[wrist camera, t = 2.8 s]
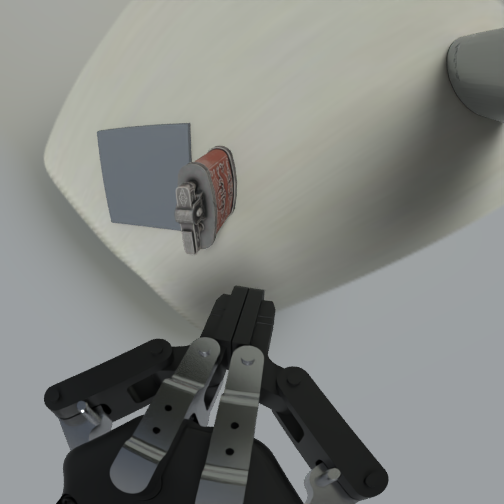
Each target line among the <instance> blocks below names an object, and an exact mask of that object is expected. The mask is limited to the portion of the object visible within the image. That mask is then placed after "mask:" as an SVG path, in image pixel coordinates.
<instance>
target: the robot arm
mask: <svg viewBox="0 0 504 504" xmlns="http://www.w3.org/2000/svg"><path fill="white" fill-rule="evenodd" d="M447 69H448V74H449V78H450V81H451V83H452V86H453V88H454V90H455V92H456V94H457V96H458V97H459V98H460V100H461V101H462V102H463V103H464V104H465V105H466V106H467V107H468V108H469V109H470V110H471V111H473V112H474V113H476V114H478V115H480V116H483V117H487V118H490V119H493V120H497V121H500V122H503V123H504V28H500V29H495V30H490V31H485V32H480V33H476V34H472V35H468V36H464V37H460V38H458V39H457V40H455V41H454V42H453V44H452V45H451V46H450V49H449V51H448V57H447ZM274 316H275V307H274V304H273V302H272V301H265V300H264V290H261V289H254V288H250V289H249V288H247V287H241V286H234V289H233V291H232V294H231V295H228V294H223V295H221V296H220V297H219V298H218V299H217V300H216V302H215V304H214V307H213V309H212V311H211V314H210V316H209V318H208V320H207V323H206V325H205V327H204V330H203V332H202V334H201V336H200V338H198V339H196V340H195V341H193V343H191V345H188V346H181V347H180V346H179V347H171V345H170V343H169V342H167V341H166V340H164V339H153V340H151V341H148V342H146V343H144V344H142V345H140V346H138V347H136V348H134V349H132V350H130V351H128V352H125V353H123V354H121V355H119V356H117V357H115V358H113V359H111V360H108V361H106V362H104V363H102V364H100V365H98V366H95V367H93V368H91V369H89V370H87V371H84V372H82V373H80V374H78V375H76V376H73V377H71V378H69V379H66V380H64V381H62V382H60V383H57V384H55V385H53V386H51V387H49V388H48V389H47V391H46V393H45V395H44V402H45V405H46V406H47V407H48V408H49V409H50V410H51V411H52V412H53V413H54V414H55V415H56V416H57V417H58V418H59V421H60V424H61V426H62V429H63V432H64V435H65V437H66V440H67V442H68V445H69V447H70V450H71V451H70V452H69V453H68V455H67V456H66V458H65V460H64V464H63V473H64V489H63V494H62V496H61V498H60V499H59V501H58V502H57V503H56V504H303V502H302V500H301V499H300V497H299V496H298V494H297V492H296V491H295V489H294V488H293V486H292V485H291V483H290V482H289V480H288V478H287V477H286V475H285V473H284V472H283V470H282V468H281V467H280V465H279V463H278V462H277V460H276V458H275V456H274V455H273V453H272V452H271V451H270V449H269V448H268V447H267V446H265V445H264V444H263V443H262V442H260V441H259V440H257V439H255V438H254V433H255V426H256V419H257V412H258V404H259V403H260V404H263V405H264V406H266V407H268V408H270V409H272V412H273V414H274V415H275V417H276V418H277V420H278V421H279V423H280V424H281V426H282V427H283V429H284V430H285V432H286V434H287V435H288V436H289V438H290V439H291V441H292V442H293V444H294V445H295V447H296V448H297V450H298V451H299V453H300V454H301V455H302V457H303V458H304V460H305V461H306V462H307V464H308V465H309V467H310V468H311V469H312V470H311V471H310V472H309V473H308V474H307V475H306V477H305V480H304V486H305V488H306V490H307V494H308V497H307V501H306V503H305V504H355V503H357V502H358V501H361V500H364V499H368V498H371V497H374V496H377V495H378V494H380V493H382V492H383V491H384V490H385V488H386V486H387V484H388V474H387V472H386V471H385V469H384V468H383V467H382V466H381V464H380V463H379V462H378V461H377V460H376V459H375V457H374V456H373V455H372V454H371V452H370V451H369V450H368V449H367V448H366V446H365V445H364V444H363V443H362V442H361V440H360V439H359V438H358V436H357V435H356V434H355V433H354V432H353V430H352V429H351V428H350V427H349V425H348V424H347V423H346V422H345V420H344V419H343V418H342V417H341V415H340V414H339V413H338V412H337V410H336V409H335V408H334V406H333V405H332V404H331V403H330V401H329V400H328V399H327V398H326V396H325V395H324V394H323V392H322V391H321V390H320V389H319V387H318V386H317V385H316V383H315V382H314V381H313V379H312V378H311V377H310V376H309V374H308V373H307V372H306V371H305V370H303V369H302V368H299V367H287V368H285V369H284V368H282V367H280V366H278V365H276V364H274V363H273V362H272V361H271V360H270V359H269V357H268V351H269V345H270V341H271V336H272V331H273V325H274ZM226 369H227V370H229V371H228V376H227V381H226V385H225V390H224V393H223V394H222V395H221V398H220V402H219V406H218V411H217V415H216V420H215V424H214V427H207V425H208V421H209V415H210V411H211V410H212V407H213V405H214V403H215V400H216V398H217V396H218V393H219V391H220V389H221V386H222V384H223V378H224V375H225V372H226ZM149 404H150V405H149ZM147 405H149V407H148V409H147V411H146V413H145V414H144V415H141V416H139V417H136V418H134V419H132V420H131V421H129V422H127V423H125V424H123V425H121V426H119V427H117V428H115V429H113V430H111V427H112V422H114V421H116V420H118V419H120V418H122V417H125V416H127V415H129V414H131V413H133V412H135V411H137V410H139V409H141V408H143V407H145V406H147Z"/></svg>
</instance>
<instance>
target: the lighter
mask: <svg viewBox="0 0 504 504" xmlns="http://www.w3.org/2000/svg"><path fill="white" fill-rule="evenodd" d="M236 197H237V177H236V168H235V164H234V160H233V155H232V153H231V151H230V150H229V149H228V148H227V147H225V146H216V147H214V148H212V149H210V150H209V151H208V152H207V154H205V155H204V156H202V157H201V158H199V159H198V160H196V161H195V162H190V163H188V164H186V165H185V166H183V167H182V168H181V169H180V170H179V174H178V186H177V188H176V199H177V204H176V209H175V213H174V216H175V221H176V222H178V223H179V224H180V225H181V231H182V238H183V243H184V249H185V252H186V253H187V254H190V255H196V254H197V252H198V251H199V250H200V249H206V248H208V247H210V246H211V245H212V244H213V242H214V241H215V238H216V234H217V232H218V231H219V229H220V227H221V226H222V224H223V223H224V221H225V220H226V218H227V217H228V216H230V215H231V214H232V212H233V211H234V209H235V203H236Z"/></svg>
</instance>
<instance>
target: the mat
mask: <svg viewBox="0 0 504 504" xmlns="http://www.w3.org/2000/svg"><path fill="white" fill-rule="evenodd" d="M97 137H98V146H99V154H100V161H101V168H102V175H103V181H104V187H105V192H106V198H107V203H108V208H109V213H110V217H111V222H113V223H122V224H130V225H139V226H147V227H156V228H164V229H172V230H180V231H181V225H180V224H179V223H178V222H176V221H175V216H174V213H175V209H176V204H177V199H176V188H177V186H178V174H179V170H180V169H181V168H182V167H183V166H185V165H186V164H188V163H190V162H192V161H191V136H190V123H181V124H161V125H146V126H135V127H125V128H116V129H108V130H101V131H97Z"/></svg>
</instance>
